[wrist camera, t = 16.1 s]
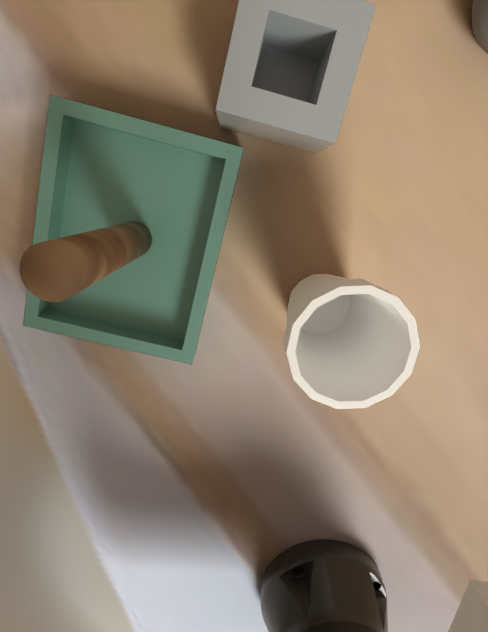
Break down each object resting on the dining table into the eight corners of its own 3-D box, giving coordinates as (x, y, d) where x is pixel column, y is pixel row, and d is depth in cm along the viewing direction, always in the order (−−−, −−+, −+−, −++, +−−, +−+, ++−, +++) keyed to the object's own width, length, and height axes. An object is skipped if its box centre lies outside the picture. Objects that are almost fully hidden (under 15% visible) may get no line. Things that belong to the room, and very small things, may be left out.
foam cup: (253, 299, 42) (260, 342, 30) (326, 237, 40) (366, 256, 28) (312, 365, 44) (341, 432, 32) (383, 309, 42) (444, 356, 30)
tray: (195, 351, 43) (191, 364, 40) (40, 315, 42) (23, 325, 39) (243, 152, 38) (243, 147, 35) (67, 103, 37) (50, 94, 34)
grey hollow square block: (316, 154, 38) (335, 143, 31) (220, 127, 38) (215, 109, 30) (346, 45, 36) (376, 4, 28) (245, 14, 35) (246, -36, 28)
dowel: (148, 259, 40) (76, 308, 22) (115, 251, 40) (16, 293, 22) (155, 226, 39) (85, 250, 22) (121, 217, 39) (23, 234, 21)
